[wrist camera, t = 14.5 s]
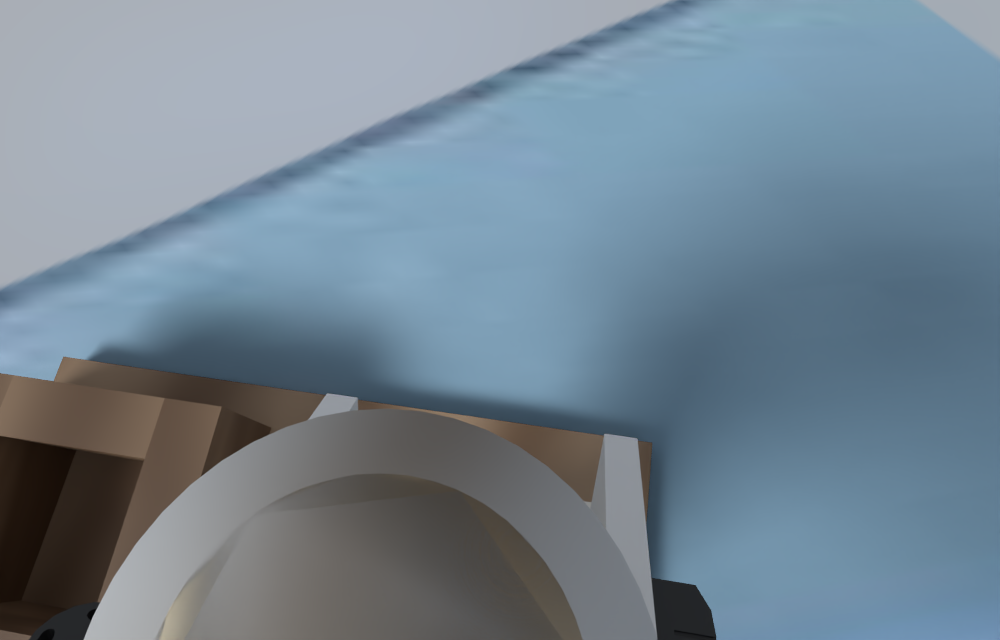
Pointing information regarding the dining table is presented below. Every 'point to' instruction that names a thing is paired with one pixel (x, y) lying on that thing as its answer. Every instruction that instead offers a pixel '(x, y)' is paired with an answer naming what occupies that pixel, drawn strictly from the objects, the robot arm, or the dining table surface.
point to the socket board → (256, 403)
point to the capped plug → (376, 544)
